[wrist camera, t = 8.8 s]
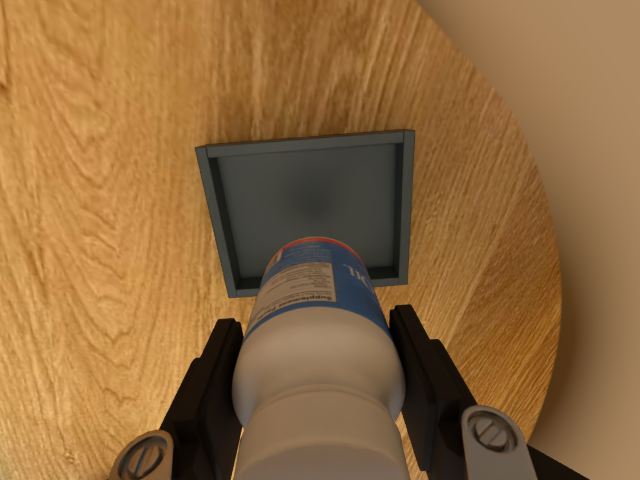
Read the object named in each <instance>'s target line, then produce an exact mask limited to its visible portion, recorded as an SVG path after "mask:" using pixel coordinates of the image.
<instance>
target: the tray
mask: <svg viewBox="0 0 640 480" xmlns="http://www.w3.org/2000/svg"><path fill="white" fill-rule="evenodd" d="M414 144H415V130H408V129H398V130H386V131H373V132H360V133H347V134H334V135H321V136H308V137H295V138H282V139H270V140H257V141H244V142H231V143H218V144H206V145H203V146H199V147H195V151H196V155H197V160H198V164H199V169H200V173H201V178H202V182H203V186H204V191H205V195H206V200H207V204H208V209H209V213H210V217H211V222H212V226H213V231H214V235H215V240H216V244H217V248H218V253H219V257H220V262H221V266H222V271H223V275H224V279H225V284H226V288H227V293H228V297H229V298H237V297H238V298H240V297H253V296H257V295H258V292H259V288H260V285H261V282H262V279H263V276H264V273H265V270H266V268H267V266H268V264H269V262H270V261H271V259H272V258H273V257H274V255H275V254H276V253H277V252H278V251H279V250H280V249H282V248H283V247H284V246H286V245H287V244H289V243H291V242H293V241H296V240H298V239H302V238H307V237H326V238H331V239H334V240H337V241H340V242H342V243H344V244H345V245H347V246H349V247H350V248H351V249H352V250H354V251H355V252H356V253H357V255H358V256H359V257H360V258H361V260H362V261H363V263H364V265H365V267H366V269H367V272H368V275H369V277H370V280H371V283H372V285H373V287H383V286H396V285H407V284H408V265H409V245H410V225H411V205H412V185H413V165H414Z"/></svg>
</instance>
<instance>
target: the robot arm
mask: <svg viewBox="0 0 640 480" xmlns="http://www.w3.org/2000/svg"><path fill="white" fill-rule="evenodd" d="M389 330H390V333H391V335H392V338H393V340H394V343H395V346H396V349H397V351H398V354H399V357H400V360H401V363H402V366H403V370H404V374H405V380H406V392H405V400H404V404H403V407H402V409H401V411H402V415H403V418H404V421H405V424H406V428H407V431H408V434H409V437H410V441H411V444H412V447H413V450H414V454H415V457H416V460H417V463H418V466H419V469H420V471H426V473H427V476H428V479H429V480H589V479H588V478H586V477H584V476H582V475H580V474H579V473H577V472H575V471H574V470H572V469H570V468H568V467H567V466H565V465H563V464H561V463H559V462H558V461H556V460H554V459H552V458H551V457H549V456H547V455H545V454H544V453H542V452H540V451H538V450H536V449H534V448H532V447H531V446H529V445H528V444H526V442H525V439H524V436H523V434H522V432H521V430H520V428H519V427H518V426H517V424H516V423H515V422H514V421H513V420H512V419H511V418H510V417H508V416H507V415H506V414H505V413H503V412H501V411H499V410H497V409H496V408H492V407H489V406H486V405H478V404H477V402H476V401H475V399H474V397H473V396H472V394H471V392H470V390H469V389H468V387H467V385H466V384H465V382H464V380H463V378H462V377H461V375H460V373H459V371H458V370H457V368H456V366H455V365H454V363H453V361H452V359H451V358H450V356H449V354H448V353H447V351H446V349H445V347H444V346H443V344H442V343H441V341H440V340H439V339H431V340H430V339H429V337H428V335H427V333H426V331H425V330H424V328H423V326H422V324H421V322H420V320H419V318H418V316H417V315H416V313H415V311H414V309H413V307H412V306H411V305H410V304H408V305H396V306H395V308H394V310H390V320H389ZM243 339H244V337H243V332H242V327H241V323H240V322H236V321H235V319H234V318H228V319H219V320H218V321H217V322H216V325H215V327H214V329H213V331H212V333H211V335H210V338H209V340H208V342H207V344H206V346H205V348H204V351H203V353H202V355H201V357H200V358H195V359H194V360H193V361H192V363H191V365H190V367H189V369H188V371H187V373H186V375H185V377H184V379H183V381H182V383H181V385H180V387H179V389H178V391H177V394H176V396H175V398H174V400H173V402H172V404H171V406H170V408H169V410H168V412H167V414H166V416H165V418H164V420H163V422H162V424H161V426H160V428H159V430H153V431H149V432H146V433H144V434H142V435H140V436H138V437H137V438H135V439H134V440H133V441H131V442H130V443H129V444H128V445H127V446H126V447H125V448H124V449H123V450H122V451H121V452H120V454H119V455H118V457H117V458H116V459H115V462H114V464H113V467H112V469H111V473H110V476H109V479H108V480H231V476H232V471H233V467H234V462H235V458H236V453H237V449H238V444H239V440H240V435H241V431H242V425H241V423H240V421H239V419H238V417H237V415H236V413H235V410H234V406H233V401H232V380H233V374H234V370H235V366H236V362H237V359H238V355H239V352H240V349H241V345H242V342H243Z"/></svg>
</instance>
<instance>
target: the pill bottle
mask: <svg viewBox="0 0 640 480" xmlns="http://www.w3.org/2000/svg"><path fill="white" fill-rule="evenodd" d="M405 392H406V380H405V374H404V370H403V366H402V363H401V360H400V357H399V354H398V351H397V349H396V346H395V343H394V340H393V338H392V335H391V333H390V330H389V327H388V325H387V322H386V319H385V317H384V314H383V311H382V309H381V307H380V304H379V301H378V299H377V296H376V293H375V291H374V288H373V285H372V283H371V280H370V277H369V275H368V272H367V269H366V267H365V265H364V263H363V261H362V260H361V258H360V257H359V256H358V255H357V253H356V252H355V251H354V250H352V249H351V248H350V247H349V246H347V245H345V244H344V243H342V242H340V241H337V240H334V239H331V238H326V237H307V238H302V239H298V240H296V241H293V242H291V243H289V244H287V245H286V246H284V247H283V248H282V249H280V250H279V251H278V252H277V253H276V254H275V255H274V257H273V258H272V259H271V261H270V262H269V264H268V266H267V268H266V270H265V273H264V276H263V279H262V282H261V285H260V288H259V292H258V295H257V298H256V301H255V304H254V307H253V310H252V313H251V316H250V320H249V323H248V326H247V330H246V333H245V336H244V339H243V342H242V345H241V349H240V352H239V355H238V359H237V362H236V366H235V370H234V374H233V380H232V401H233V406H234V410H235V413H236V415H237V417H238V419H239V421H240V423H241V425H242V426H243V428H244V429H245V430H244V432H243V434H242V437H241V439H240V445H239V452H238V457H237V463H236V468H235V473H234V478H233V480H410V476H409V472H408V468H407V464H406V459H405V455H404V451H403V447H402V439H401V435H400V432H399V430H398V427H397V425H396V424H395V422H396V420H397V418H398V416H399V414H400V412H401V409H402V407H403V404H404V400H405Z"/></svg>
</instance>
